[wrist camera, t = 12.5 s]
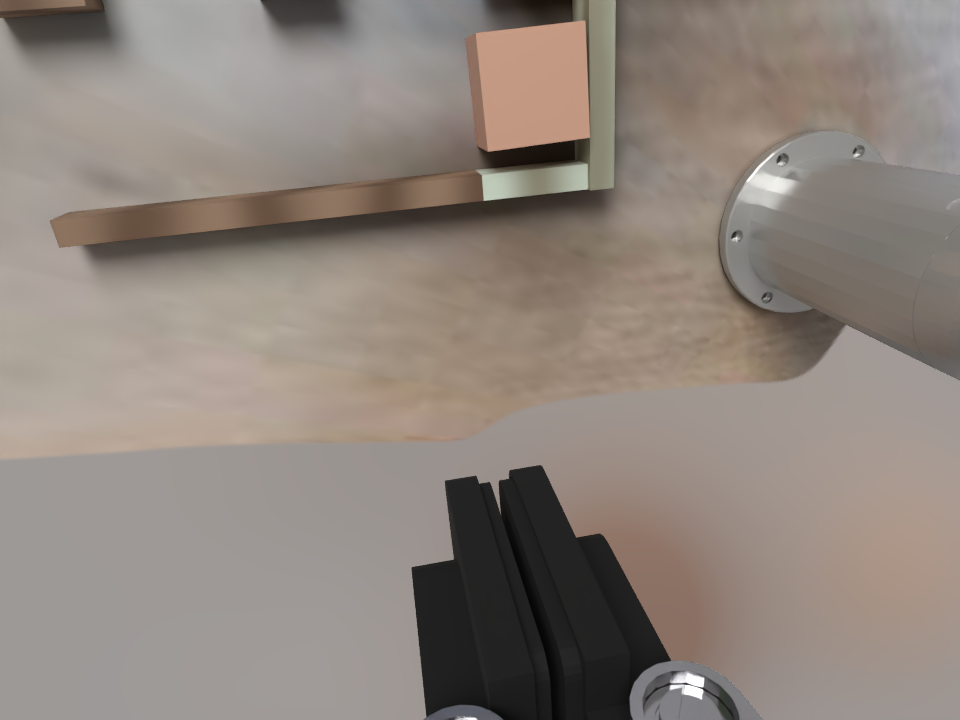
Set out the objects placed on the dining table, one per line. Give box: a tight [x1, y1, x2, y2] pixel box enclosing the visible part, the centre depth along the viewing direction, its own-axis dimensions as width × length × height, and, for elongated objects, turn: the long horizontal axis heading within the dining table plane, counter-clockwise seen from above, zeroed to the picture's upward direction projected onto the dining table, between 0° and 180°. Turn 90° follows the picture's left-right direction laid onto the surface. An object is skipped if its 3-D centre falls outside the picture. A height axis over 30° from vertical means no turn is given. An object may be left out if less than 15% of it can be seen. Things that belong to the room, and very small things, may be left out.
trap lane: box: [0, 0, 616, 248], centre depth 34 cm, size 32×22×3 cm
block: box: [465, 20, 590, 152], centre depth 37 cm, size 6×6×4 cm
